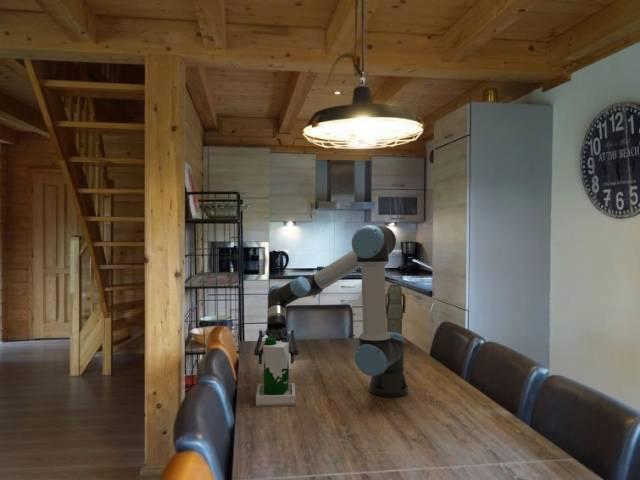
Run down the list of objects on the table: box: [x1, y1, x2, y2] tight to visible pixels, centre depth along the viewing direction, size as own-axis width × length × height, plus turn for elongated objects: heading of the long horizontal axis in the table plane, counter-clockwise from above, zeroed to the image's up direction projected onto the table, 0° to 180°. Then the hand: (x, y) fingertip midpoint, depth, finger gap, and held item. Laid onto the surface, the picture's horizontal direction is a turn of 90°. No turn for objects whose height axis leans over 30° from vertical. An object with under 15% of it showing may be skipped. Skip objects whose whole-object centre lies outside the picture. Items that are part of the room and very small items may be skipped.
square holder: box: [255, 382, 296, 407], centre depth 171 cm, size 14×14×4 cm
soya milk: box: [262, 336, 290, 395], centre depth 171 cm, size 9×9×20 cm
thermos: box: [385, 284, 407, 335], centre depth 245 cm, size 9×12×35 cm
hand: (276, 371), depth 168 cm, fingers open, 9 cm apart
